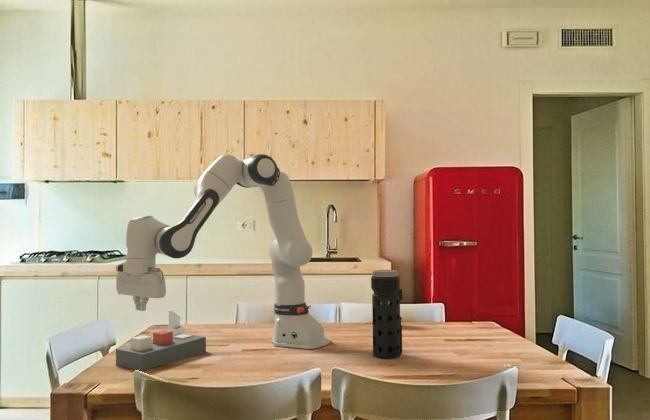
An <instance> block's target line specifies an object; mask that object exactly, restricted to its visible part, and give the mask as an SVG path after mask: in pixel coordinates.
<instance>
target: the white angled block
mask: <svg viewBox="0 0 650 420" xmlns="http://www.w3.org/2000/svg"><path fill="white" fill-rule="evenodd" d="M185 327H186V326H185V325H181V316H180V315H178V314H177V313H176V312H174V311H173V310H171V311H168V331H172V332H173V335H174V334H178V333H184V334H186V332H185Z"/></svg>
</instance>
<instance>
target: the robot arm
mask: <svg viewBox="0 0 650 420" xmlns="http://www.w3.org/2000/svg"><path fill="white" fill-rule="evenodd" d="M235 185H238V186H240V187H242V188H246V189H250V188H257V187H259V188H260V189H261V190H262V193H263V195H264V201H265V207H266V212H267V218H268V223H269V225H270V227H271V229H272V231H273V233H274V235H275V239H273V240H272V241H271V243H270V244H269V247H268V255H269V257H270V259H271V267H272V272H273V277H274V286H275V287H274V292H275V293H274V294H275V296H274V298H275V299H274V301H275V302H274V305H273V310H274V311H273V313H274V326H273V333H272V338H271V340H270V341H271V343H273V344H272V345H273V346H275V347H284V348H295V349H306V350H313V349H318V348H319V349H320V348H322V347H325V346H326V345H327V346H328V345H329V344H330V343H331V342H332V341H331V338H329V337H326V336H325V329H324V326H323V324H321V322H319V320H317V319H316V318H315V317H314V316H313V315H311V314H310V312H309V310H310V309H311V305H308V304H307V303H306V302H305V301H306V298H305V296H306V295H305V293H306V292H305V284H306V283H305V279H304V277H303V274H302V272H301V267H303V266H305V265H307V264H308V263H309V262H310V261H311V259H312V256H313V248H312V246H311V243H310V242H308V240H307V237H306V234H305V232H304V230H303V229H304V228H303V226H302V224H301V222H300V218H299V213H298V209H297V208H298V207H297V204H296V198H295V192H294V189H293V186H292V184H291V179H290V178H289V176H288V174H287V173H285V172H283V171H281V170H280V168H279V167H278V165H277V163H276V161H275V160H274V159H273V158H272V157H271V156H270V155H267V154H262V153H261V154H255V155H251V156H248V157H246V158H244V159H241V160H239V159H238V158H237V157H236V156H234V155H232V154H222V155H220V156H219V157H218V158H216V159H215V160H214V161H213V162H212V163H211V164H210V165H209V166H208V167H207V168H206V169H205V170H204V171H203V173H201V175H200V176H199V178H198V180H197V181H196V182H195V185H194V187H193V191H194V195H195V201H194V203H193V204H192V206H191V207H190V208H189V209H188V211H187V212H186V213H185V215H184V216H183V218H182V219H181V220H180V221H179V222H178V223H176V224H174V225H169V224H166V223H163V222H162V221H160V220H158V219H156V218H155V217H154V216H152V215H145V216H138V217H133V218H131V219H130V220H129V222H128V223H127V226H126V235H125V237H126V238H125V242H126V243H125V245H126V248H127V249H126V250H127V253H126V255H125V261H123V262H122V263H119V264H117V265H116V267H115V269H116V273H117V274H116V277H115V279H116V281H115V285H116V287H115V289H116V291H117V294H118V295H124V296H131V297H132V299H133V303H134V305H135V311H141V312H144V311H146V310H147V304H148V302H149V301H150V300H149V299H162V298H164V297H165V296H166V294H167V290H166V289H167V287H166V278H165V276H164V272H163V271H162V270H161V268H160V267H156V261H157V259H156V255H158V254H161V255H164V256H167V257H169V258H172V259H181V258H184V257H186V256H188V255H189V254H190V253H191V252H192V250H193V248H194V245H195V243H196V239H197V235H198V233H199V232H200V230H201V229H202V227H203V226H204V225H205V223H206V222H207V221H208V219H209V217H210V216H211V215H212V213H213V212H214V210H215V209H216V208H217V207H218V206H219V205H220V203H221V202H222V201H223V200H224V199H225V198H226V197H227V195H228V194H229V193H230V192H231V190H232V189H233V188H234V186H235Z"/></svg>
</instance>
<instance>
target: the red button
mask: <svg viewBox="0 0 650 420" xmlns="http://www.w3.org/2000/svg"><path fill="white" fill-rule="evenodd" d="M152 340H153V344H157V345H165V344H169V343H173V332H172V331H169V330H164V329H162V330H159V331H155V332H152Z"/></svg>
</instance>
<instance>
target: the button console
mask: <svg viewBox="0 0 650 420" xmlns="http://www.w3.org/2000/svg"><path fill="white" fill-rule="evenodd" d="M182 334H184V333H178V334H174V335H173V337H174V336H178V335H182ZM185 334H186V335H192V337H191V338H188V339H184V340H180V339H174V338H173V343H169V344H165V345H157V344H153V339H151V343H152V348H150V349H146V350H143V351H136V350H131V344H130V345H126V346H122V347H118V348H115V365H116V366H119V367H122V368H123V367H124V368H128V369H132V370H136V369H140V370H142V371H141V372H143V371H147V370H150V369H154V368H157V367H160V366H165V365H167V364H170V363H174V362H177V361H179V360H183V359H186V358H189V357H192V356H196V355H198V354H202V353H205V352H206V351H207V337H206V336H204V335H203V336H202V335H197V334H189V333H185ZM140 370H139V371H140Z"/></svg>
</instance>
